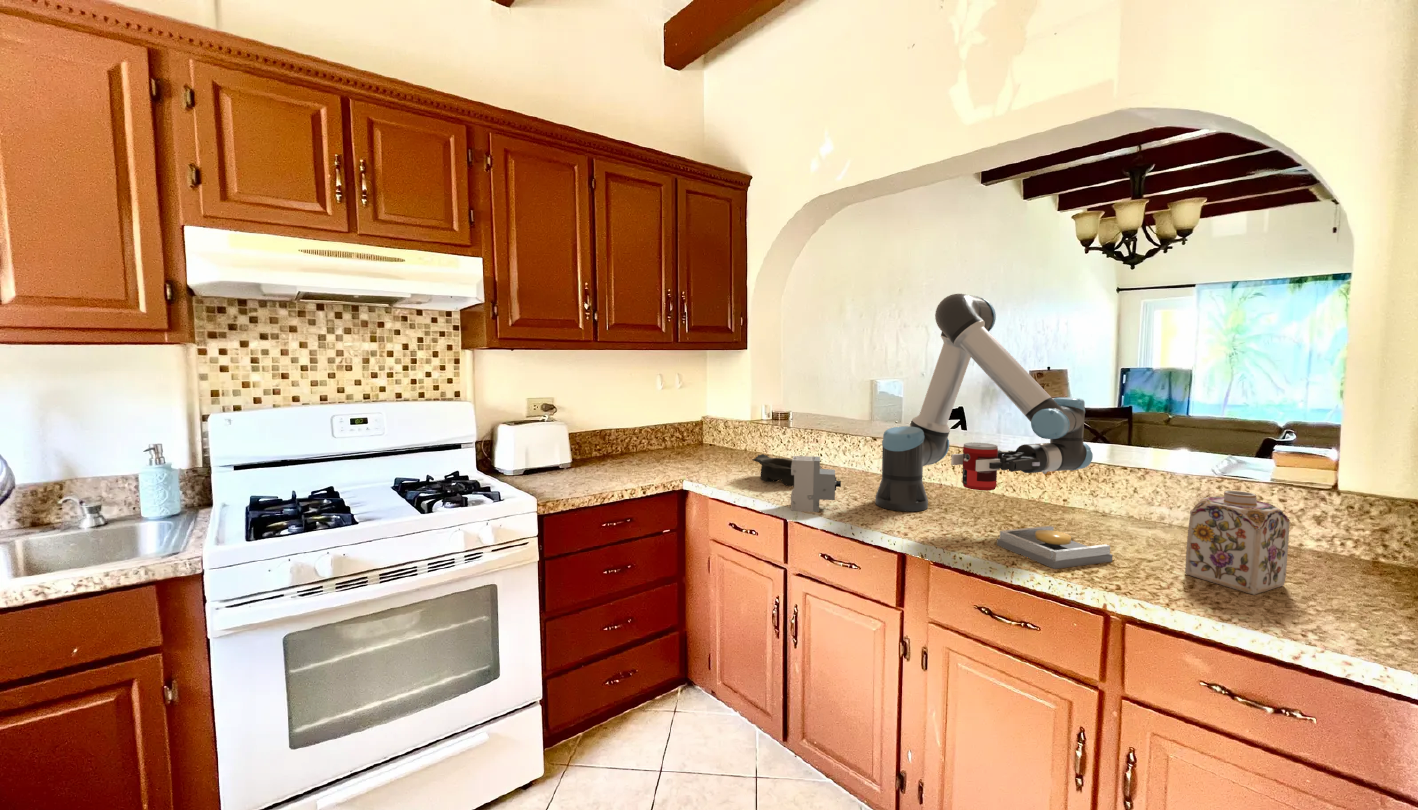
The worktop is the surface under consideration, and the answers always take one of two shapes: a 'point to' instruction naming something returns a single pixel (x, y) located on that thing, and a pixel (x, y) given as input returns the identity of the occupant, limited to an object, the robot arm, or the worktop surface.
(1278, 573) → the decorative jar
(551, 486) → the worktop surface
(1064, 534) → the button
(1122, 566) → the worktop surface
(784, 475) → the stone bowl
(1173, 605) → the worktop surface
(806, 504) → the circuit breaker
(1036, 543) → the switch base
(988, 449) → the canned food
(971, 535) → the worktop surface
